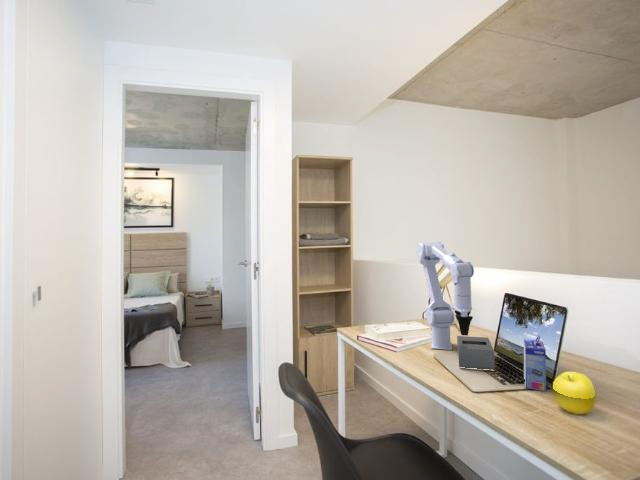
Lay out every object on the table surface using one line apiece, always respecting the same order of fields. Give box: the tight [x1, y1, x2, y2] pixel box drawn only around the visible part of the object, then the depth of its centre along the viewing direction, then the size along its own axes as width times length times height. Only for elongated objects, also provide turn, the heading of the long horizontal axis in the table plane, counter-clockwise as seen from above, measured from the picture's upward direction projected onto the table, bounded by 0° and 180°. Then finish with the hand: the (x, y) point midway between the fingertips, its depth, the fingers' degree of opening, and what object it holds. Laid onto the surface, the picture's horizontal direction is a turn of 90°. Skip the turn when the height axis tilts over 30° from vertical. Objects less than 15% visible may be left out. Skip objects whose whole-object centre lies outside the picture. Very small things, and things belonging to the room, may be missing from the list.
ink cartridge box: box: [523, 335, 547, 392], centre depth 105 cm, size 10×6×14 cm, turn 152°
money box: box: [456, 335, 496, 370], centre depth 125 cm, size 16×11×7 cm
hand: (463, 332), depth 127 cm, fingers open, 7 cm apart
